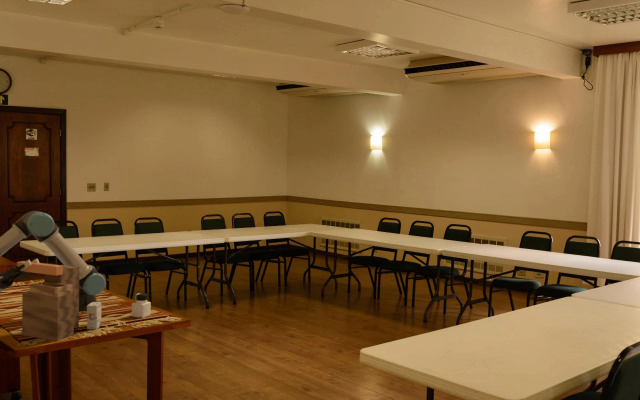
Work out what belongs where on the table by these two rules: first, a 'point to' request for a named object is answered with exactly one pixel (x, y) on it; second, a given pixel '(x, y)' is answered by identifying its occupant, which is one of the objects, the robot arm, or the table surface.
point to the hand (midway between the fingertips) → (34, 261)
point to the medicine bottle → (141, 306)
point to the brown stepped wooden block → (52, 306)
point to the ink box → (94, 315)
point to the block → (43, 268)
